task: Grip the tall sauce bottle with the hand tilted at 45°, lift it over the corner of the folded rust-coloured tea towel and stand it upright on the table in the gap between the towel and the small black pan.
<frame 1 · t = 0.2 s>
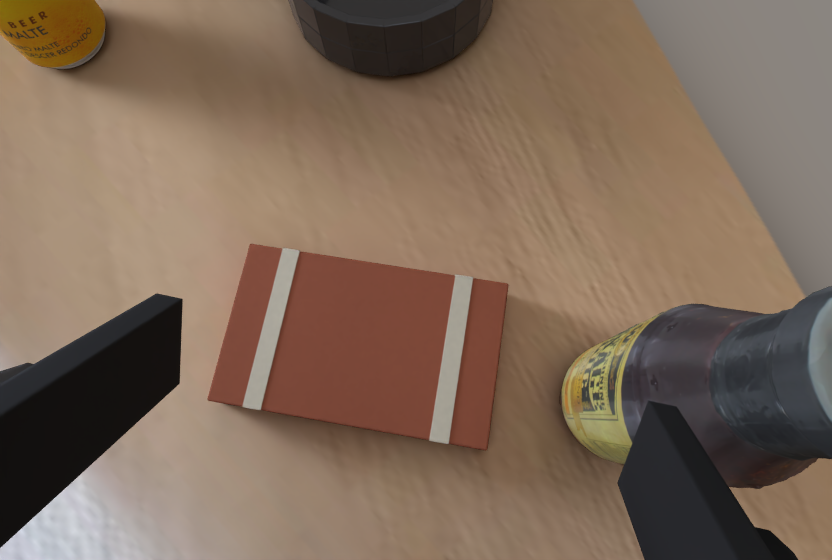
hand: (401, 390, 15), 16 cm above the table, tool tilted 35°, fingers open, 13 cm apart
sauce bottle: (607, 405, 30), on the table
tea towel: (365, 346, 31), on the table
beer can: (71, 41, 38), on the table
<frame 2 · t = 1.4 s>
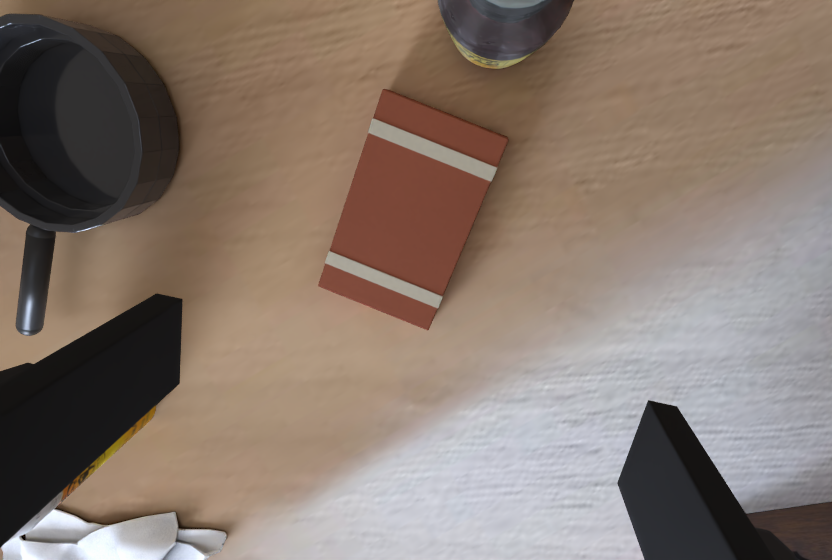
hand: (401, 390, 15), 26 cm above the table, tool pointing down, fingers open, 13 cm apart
sauce bottle: (498, 22, 35), on the table
cloth: (114, 557, 55), on the table
pan: (94, 127, 41), on the table
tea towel: (410, 212, 40), on the table
beer can: (131, 391, 48), on the table
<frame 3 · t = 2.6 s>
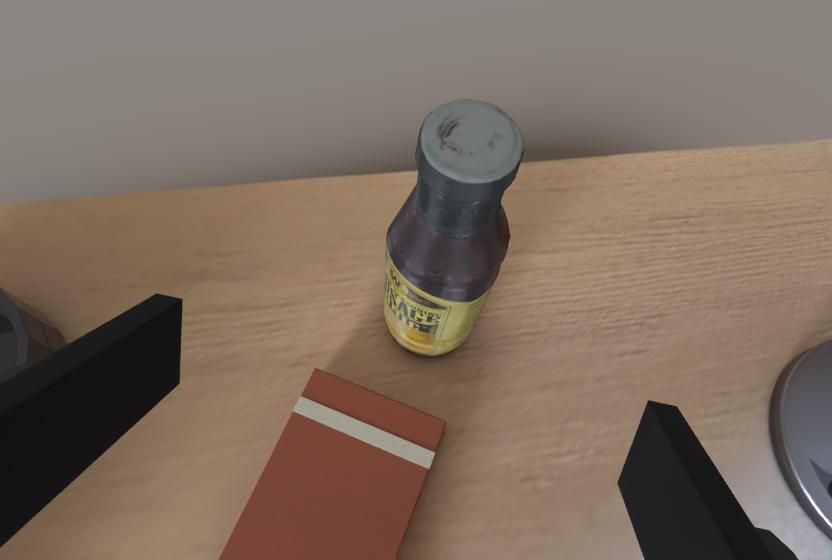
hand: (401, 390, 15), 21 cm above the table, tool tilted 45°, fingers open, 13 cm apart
sauce bottle: (429, 323, 38), on the table
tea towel: (330, 516, 32), on the table
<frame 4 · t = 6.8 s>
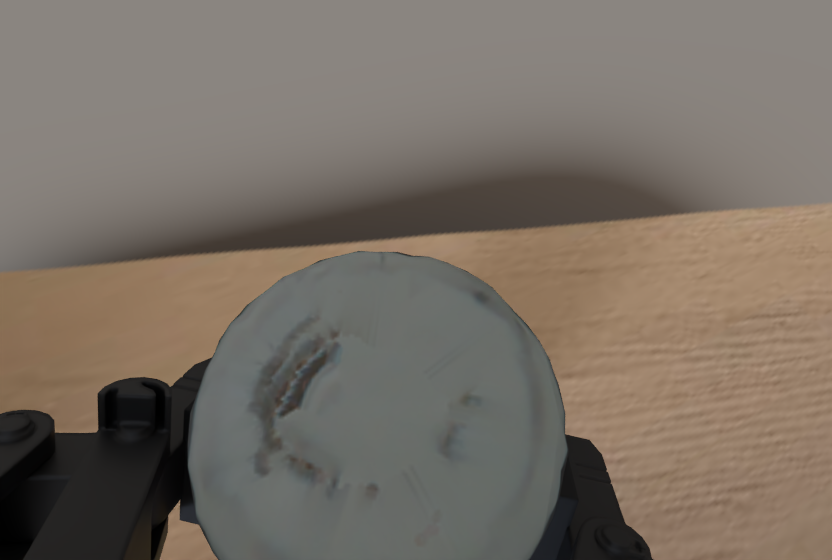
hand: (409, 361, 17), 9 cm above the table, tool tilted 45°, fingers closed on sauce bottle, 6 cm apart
sauce bottle: (385, 503, 24), on the table, touching gripper
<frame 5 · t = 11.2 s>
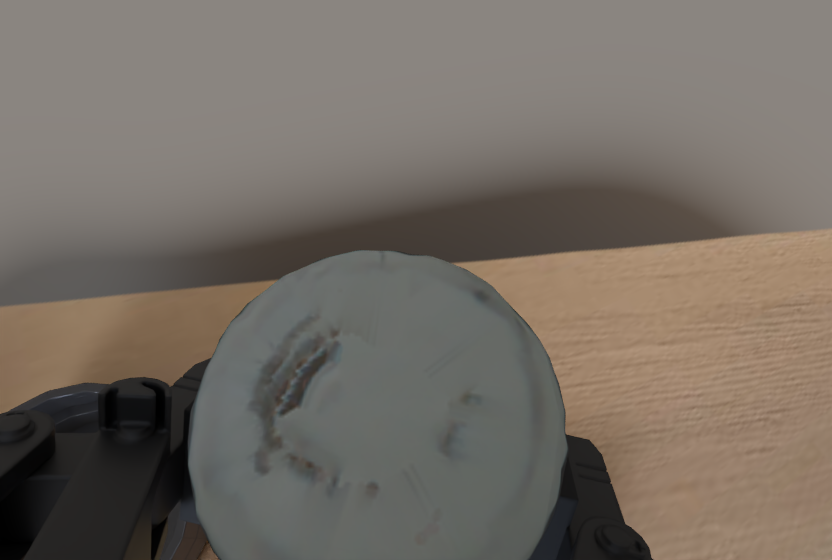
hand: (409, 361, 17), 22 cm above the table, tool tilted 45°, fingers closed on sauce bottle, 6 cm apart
sauce bottle: (386, 503, 24), point 13 cm above the table, touching gripper
pan: (105, 510, 35), on the table
when the fingers open (9 cm above the table, at t = 15.7 s): sauce bottle stays where it is, on the table.
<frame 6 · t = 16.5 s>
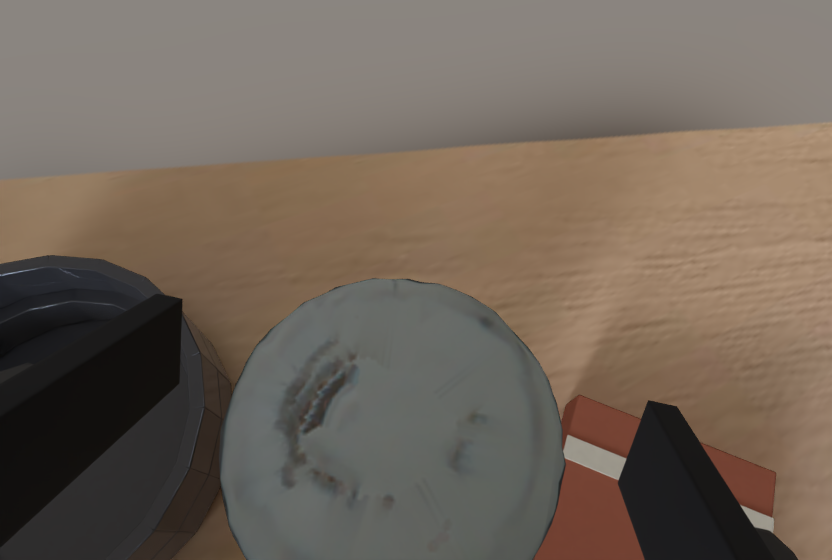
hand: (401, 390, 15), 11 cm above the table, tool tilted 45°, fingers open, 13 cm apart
sauce bottle: (384, 503, 24), on the table
pan: (78, 443, 25), on the table
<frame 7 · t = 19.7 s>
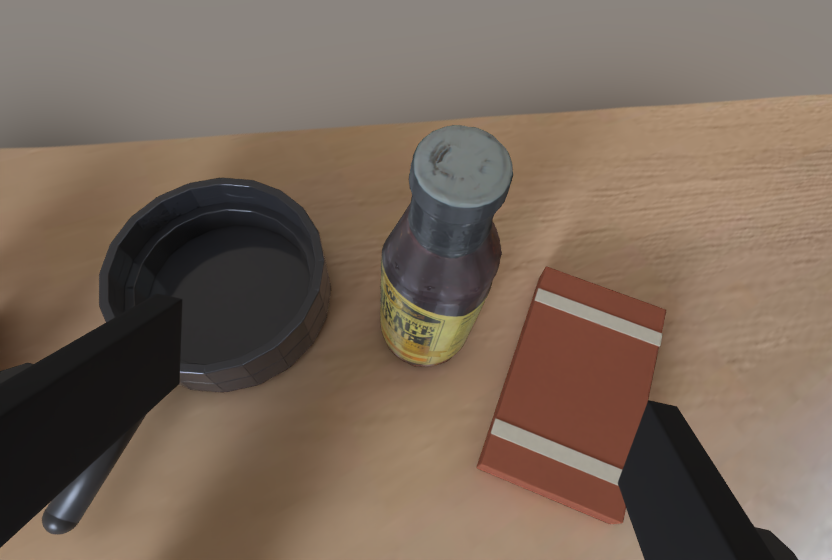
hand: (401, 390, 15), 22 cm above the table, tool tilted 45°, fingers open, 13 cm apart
sauce bottle: (425, 333, 39), on the table
pan: (233, 298, 39), on the table
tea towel: (571, 388, 37), on the table
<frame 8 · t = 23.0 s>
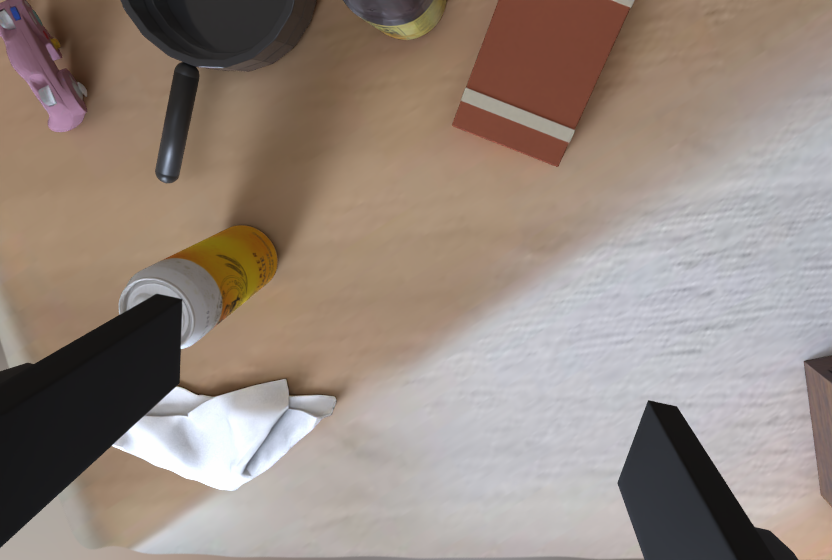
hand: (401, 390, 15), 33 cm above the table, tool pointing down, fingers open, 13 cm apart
sauce bottle: (410, 1, 42), on the table
cloth: (221, 432, 57), on the table
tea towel: (542, 51, 41), on the table
video game controller: (64, 68, 47), on the table
beer can: (250, 254, 50), on the table
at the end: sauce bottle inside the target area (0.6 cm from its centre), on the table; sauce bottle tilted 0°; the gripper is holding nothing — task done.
